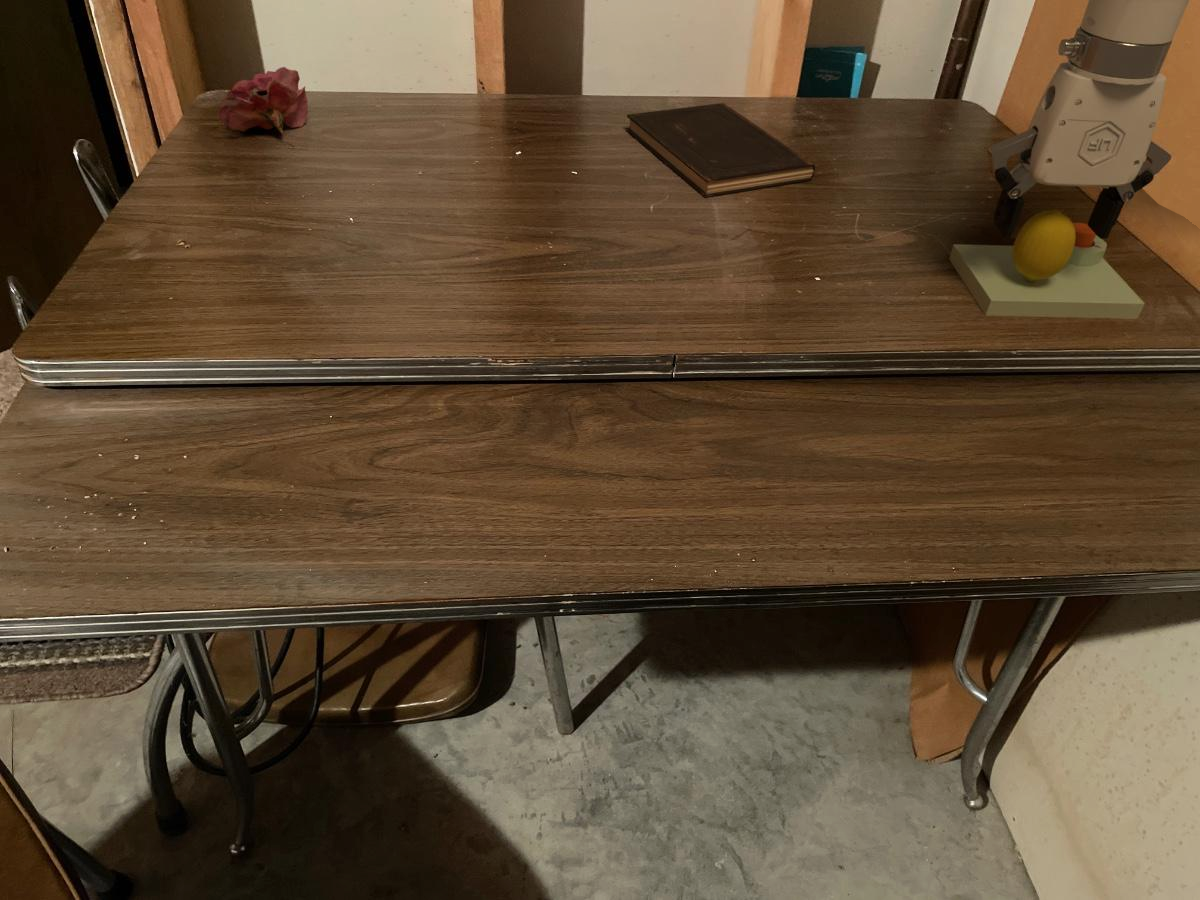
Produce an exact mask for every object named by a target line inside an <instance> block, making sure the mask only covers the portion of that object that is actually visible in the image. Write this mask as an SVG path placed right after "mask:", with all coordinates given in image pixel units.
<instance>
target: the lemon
mask: <svg viewBox="0 0 1200 900" xmlns="http://www.w3.org/2000/svg"><path fill="white" fill-rule="evenodd" d="M1073 223H1074V222H1073V221H1072V220H1071V219H1070V218H1069V216H1067V215H1066V214H1064V213H1063V212H1062V210H1060V209H1059V208H1054V209H1052V210H1045V211H1041V212H1039V213H1035V214H1034V215H1033V216H1031V217H1030V218H1029V219H1027V220H1026V221H1025V222H1024V224H1023V225H1022V227H1020V229H1019V231H1018V233H1017V235H1016V237H1015V240H1014V242H1013V245H1012V246H1013V253H1012V256H1013V261H1014V265H1015V267H1016V268H1017V270H1018V271H1019V272H1020V273H1021V274H1023V275H1024V276H1025V277H1026V279H1027V280H1028V281H1030V282H1033V281H1036V280H1038V279H1046V278H1049V277H1052V276H1054V275H1055V274H1057V273H1058V272H1060V271H1061V270H1062V269H1063V268H1064V267H1065V265H1066V264H1067V262H1068V261H1069V259H1070V257H1071V255H1072V252H1073V249H1074V245H1075V238H1076V234H1075V227H1074V225H1073Z"/></svg>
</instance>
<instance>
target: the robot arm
mask: <svg viewBox="0 0 1200 900" xmlns="http://www.w3.org/2000/svg"><path fill="white" fill-rule="evenodd" d="M1189 1H1190V0H1088V2H1087V5H1086V8H1085V11H1084V13H1083V17H1082V20H1081V22H1080V25H1079V27H1077V28H1076V31H1075V34H1074V37H1071V38H1063V39H1062V40H1061V41H1060V42H1059V43H1058V44H1059V45H1058V48H1057V53H1058V55H1059V56H1066V58H1067V62H1061V63H1060V64H1059V66H1058V67H1057V68H1056V70H1055V71H1054V74H1053V75H1052V77H1051V79H1050V80H1049V82H1048V84H1047V86H1046V88H1045V90H1044V92H1043V94H1042V95H1041V98H1040V100H1039V102H1038V104H1037V106H1036V109H1035V110H1034V113H1033V116H1032V118H1031V120H1030V122H1029V125H1028V128H1027V130H1025V131H1023V132H1020V133H1018V134H1016V135H1014V136H1011V137H1009V138H1007V139H1004V140H1002V141H999V142H997V143H995V144H992V145H990V146H989V147H988V148H987V158H988V161H989V162H988V163H989V166H990V173H991V174H992V176H993V177H994V179H995V180H996V182H997V183H998V185H999V186H1000V188H1001V189H1002V190H1001V192H1000V196H999V199H998V201H997V205H996V207H995V210H994V213H993V223H994V226H995V227H996V228H997V230H998V231H999V232H1000V234H1001V235H1002V236H1003V237H1004V238H1010V237H1012V236H1013V235H1014V233H1015V230H1016V228H1017V225H1018V221H1019V219H1020V216H1021V212H1022V210H1023V207H1024V205H1025V200H1024V198H1023V197H1022V195H1024V194H1025V193H1026V192H1028V190H1030V189H1031V188H1032V187H1034V186H1035V185H1036V184H1041V185H1043V186H1052V187H1053V186H1054V187H1085V188H1086V187H1088V188H1089V187H1091V188H1092V187H1095V188H1102V190H1101V191H1100V192H1099V194H1098V197H1097V200H1096V201H1095V202H1096V203H1095V204H1094V207H1093V209H1092V211H1091V214H1090V216H1089V219H1088V222H1087V225H1088V226H1089V227H1090V229H1091V230H1092V231H1093V232H1094V233H1095V234H1096V236H1098V237H1099V238H1100V239H1103V240H1107V239H1108V238H1109V236H1110V233H1111V231H1112V229H1113V228H1114V227H1115V226H1116V224H1117V221H1118V219H1119V217H1120V214H1121V213H1122V210H1123V207H1124V205H1125V202H1129V201H1131V200H1133V198H1134V197H1135V194H1136V193H1138V192H1139V191H1140V190H1142V189H1143V188H1145V187H1146V186H1148V185H1149V184H1150V183H1152V182H1153V180H1154V177H1155V175H1157V174H1159V173H1160V172H1161V171H1162V170H1163V169H1164V167H1166V165H1167V164H1168V163H1170V161H1171V160H1172V155H1171V154H1170V153H1169V152H1168V151H1167V150H1165V149H1164V147H1163V148H1162V147H1161V146H1160V145H1159V144H1157V143H1155V142H1154V141H1153V139H1152V138H1153V136H1154V133H1155V129H1156V126H1157V123H1158V120H1159V116H1160V112H1161V108H1162V103H1163V100H1164V93H1165V90H1166V89H1165V88H1166V83H1167V76H1165V75H1164V74H1162V73H1161V70H1162V67H1163V65H1164V62H1165V60H1166V57H1167V56H1168V52H1169V50H1170V48H1171V45H1172V43H1173V40H1174V37H1175V35H1176V33H1177V31H1178V28H1179V26H1180V23H1181V21H1182V18H1183V16H1184V13H1185V11H1186V8H1187V6H1188V4H1189ZM1016 155H1018V162H1019V163H1018V164H1017V165H1015V166H1014V167H1013V168H1012V169H1011V170H1010V171H1009V168H1008V160H1009V159H1010V158H1011V157H1012V156H1016Z"/></svg>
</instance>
